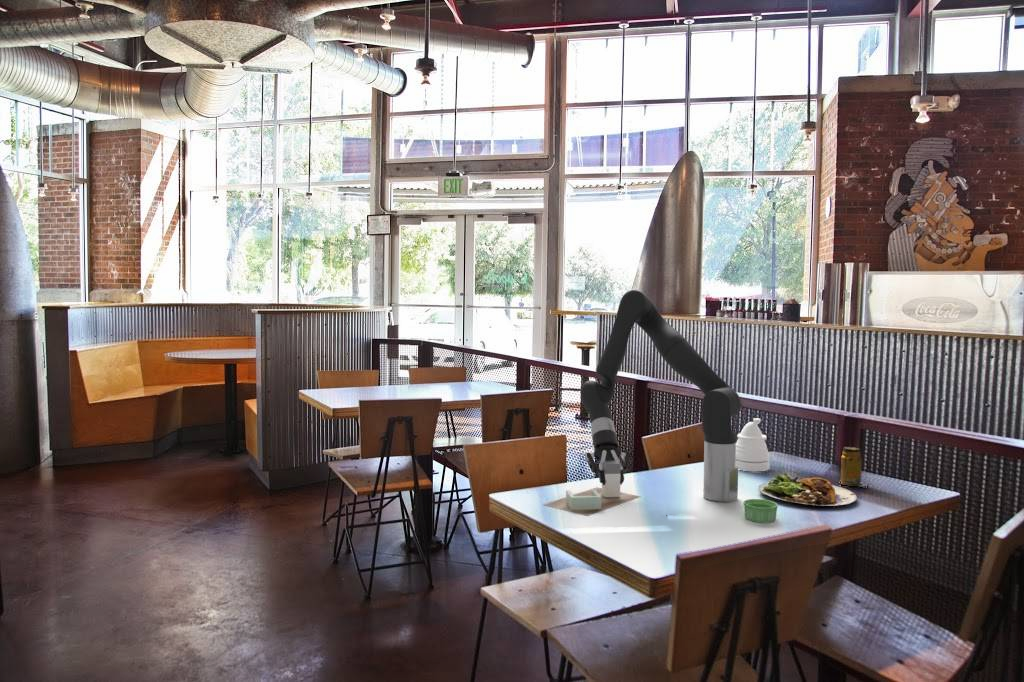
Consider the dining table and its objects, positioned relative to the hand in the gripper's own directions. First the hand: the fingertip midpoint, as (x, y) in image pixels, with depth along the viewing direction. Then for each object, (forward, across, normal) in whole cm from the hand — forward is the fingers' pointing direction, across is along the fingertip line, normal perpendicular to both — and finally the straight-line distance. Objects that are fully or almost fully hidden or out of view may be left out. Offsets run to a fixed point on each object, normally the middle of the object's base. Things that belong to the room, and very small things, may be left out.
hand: (612, 483), depth 220 cm
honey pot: (-23, +60, +32) cm, 71 cm away
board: (+6, -7, +2) cm, 9 cm away
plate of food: (+4, +60, +4) cm, 61 cm away
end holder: (+8, -10, -2) cm, 14 cm away
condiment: (-5, +83, +14) cm, 84 cm away
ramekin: (+19, +36, -10) cm, 42 cm away
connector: (+2, 0, +4) cm, 4 cm away
